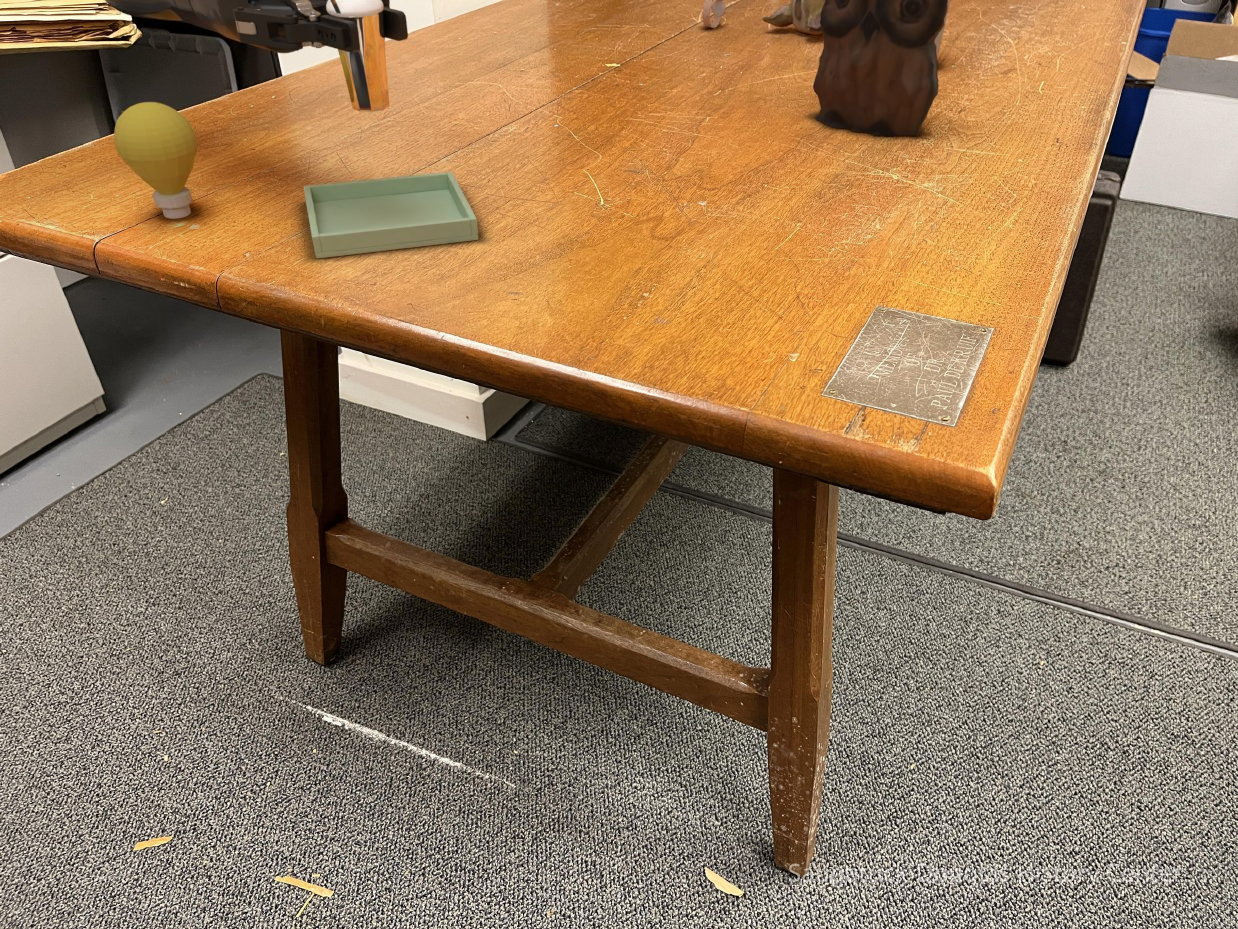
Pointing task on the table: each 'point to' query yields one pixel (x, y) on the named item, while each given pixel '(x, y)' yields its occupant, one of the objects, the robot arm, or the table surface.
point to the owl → (878, 64)
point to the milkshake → (364, 54)
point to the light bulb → (159, 153)
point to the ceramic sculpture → (799, 16)
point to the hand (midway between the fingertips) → (379, 32)
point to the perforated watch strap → (717, 10)
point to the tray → (388, 214)
